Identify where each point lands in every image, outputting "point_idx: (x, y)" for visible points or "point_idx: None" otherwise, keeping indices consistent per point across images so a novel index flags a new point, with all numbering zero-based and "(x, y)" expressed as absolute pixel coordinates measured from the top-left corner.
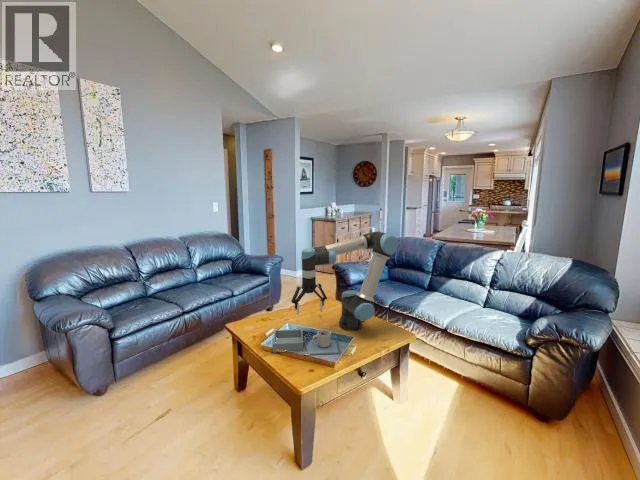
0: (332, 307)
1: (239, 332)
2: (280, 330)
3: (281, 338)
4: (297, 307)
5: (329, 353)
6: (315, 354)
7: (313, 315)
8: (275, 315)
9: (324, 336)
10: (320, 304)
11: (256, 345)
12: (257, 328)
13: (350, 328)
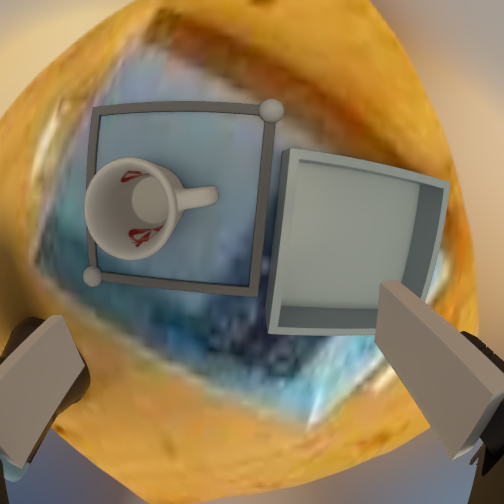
0: (131, 472)
1: None
2: None
3: (373, 302)
4: (468, 344)
5: (144, 105)
6: (219, 102)
7: (195, 456)
8: (336, 461)
9: (132, 158)
10: (21, 396)
11: (463, 260)
12: None
13: (40, 324)
